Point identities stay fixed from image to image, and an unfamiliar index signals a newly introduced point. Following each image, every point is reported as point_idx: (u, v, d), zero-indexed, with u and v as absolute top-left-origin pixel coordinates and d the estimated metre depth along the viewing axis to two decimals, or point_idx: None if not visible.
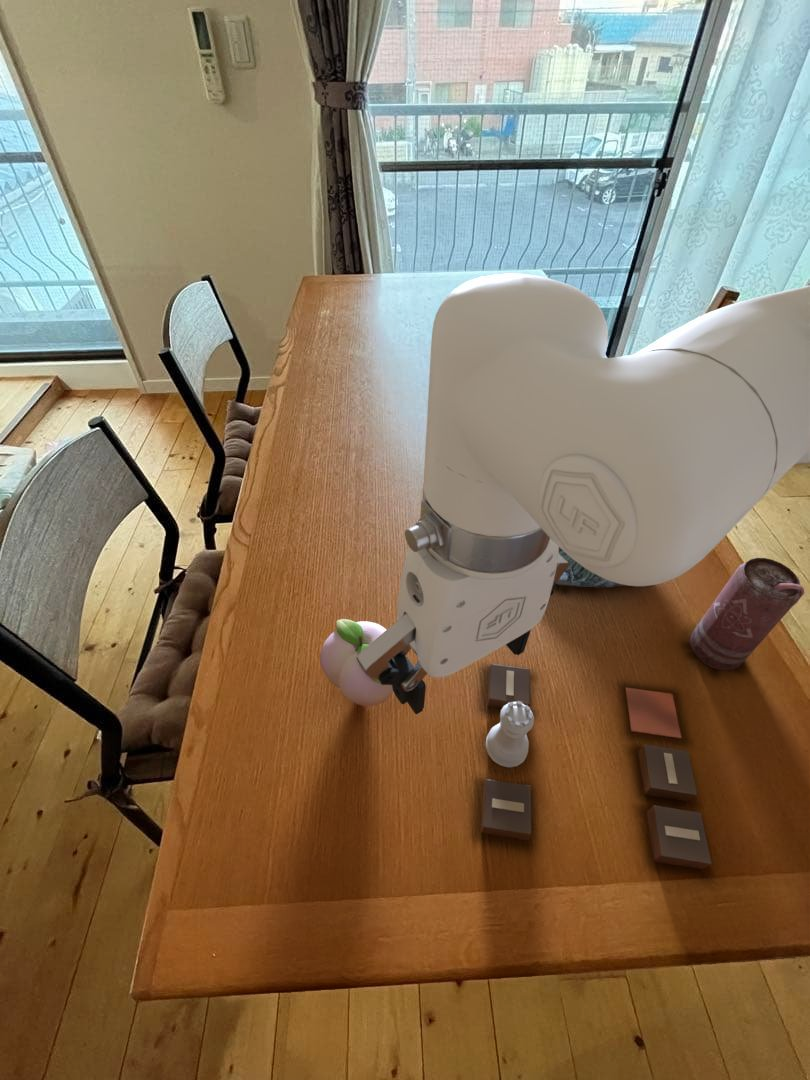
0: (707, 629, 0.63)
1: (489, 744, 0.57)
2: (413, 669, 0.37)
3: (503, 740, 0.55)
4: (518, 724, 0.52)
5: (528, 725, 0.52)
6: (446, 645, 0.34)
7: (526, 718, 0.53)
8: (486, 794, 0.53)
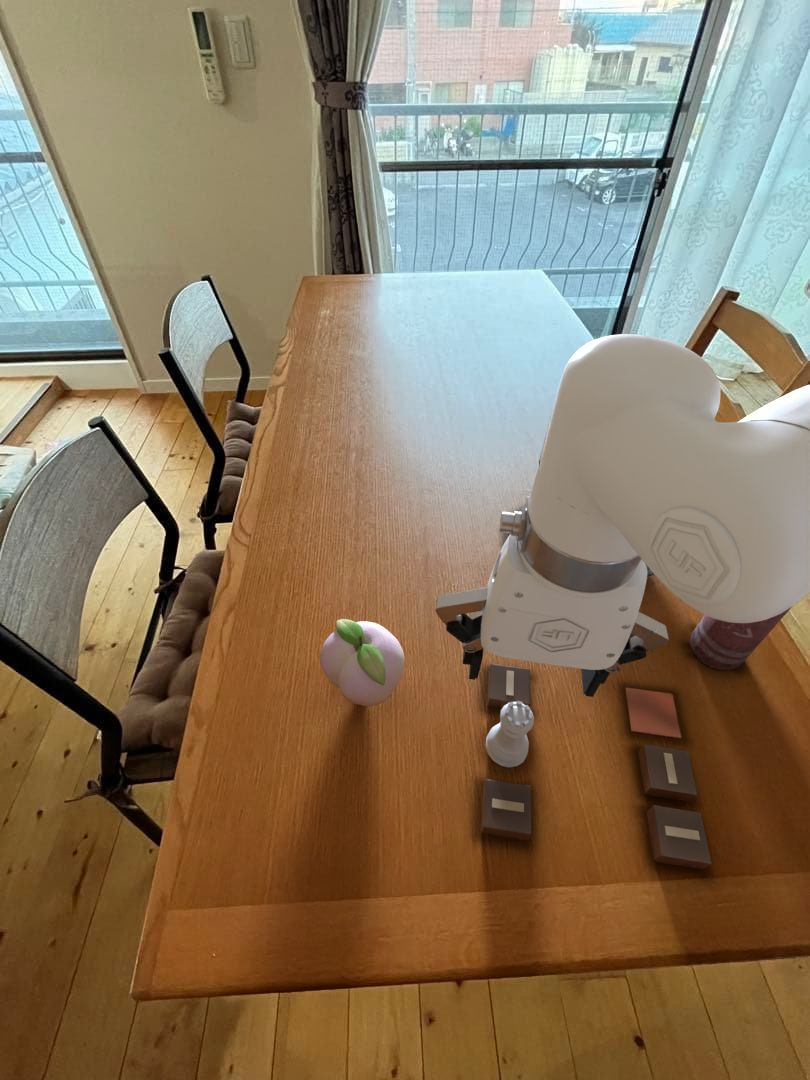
0: (707, 629, 0.63)
1: (489, 744, 0.57)
2: (476, 636, 0.43)
3: (503, 740, 0.55)
4: (518, 724, 0.52)
5: (528, 725, 0.52)
6: (499, 625, 0.39)
7: (526, 718, 0.53)
8: (486, 794, 0.53)
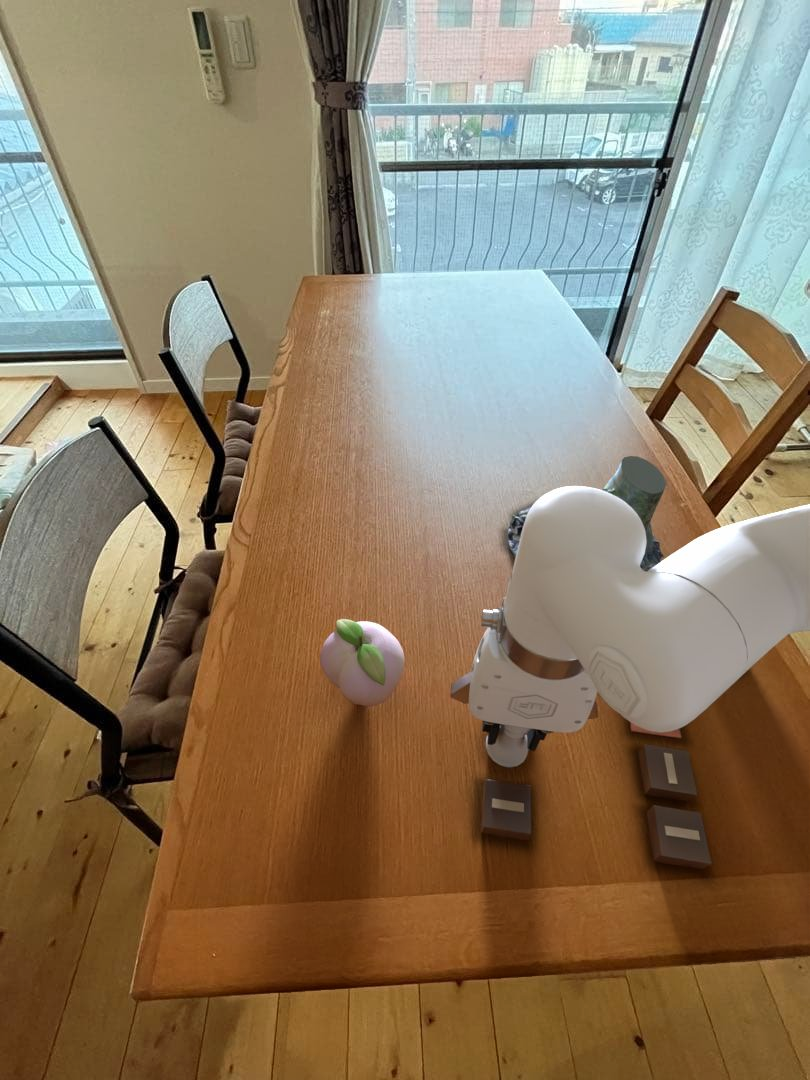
0: None
1: None
2: None
3: (503, 740, 0.55)
4: None
5: None
6: (483, 697, 0.46)
7: None
8: (486, 794, 0.53)
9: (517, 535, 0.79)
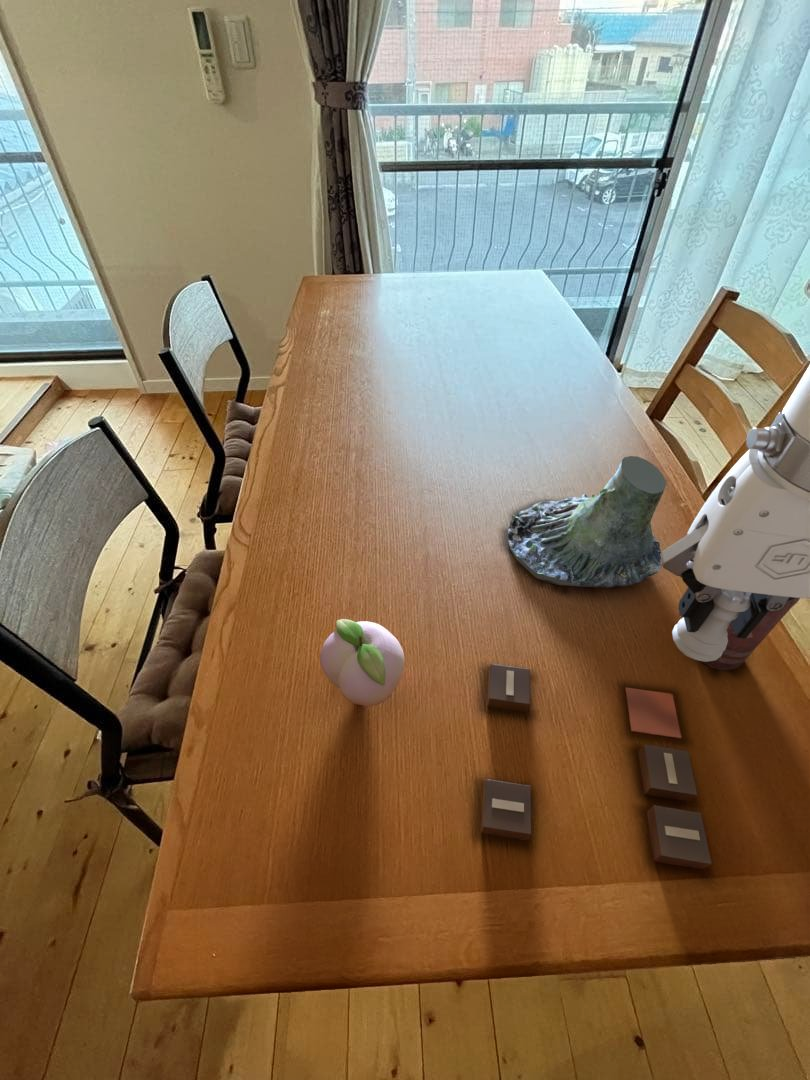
0: None
1: (682, 636, 0.49)
2: (704, 583, 0.44)
3: (705, 627, 0.47)
4: (738, 600, 0.44)
5: (747, 602, 0.45)
6: (728, 550, 0.39)
7: (743, 595, 0.45)
8: (486, 794, 0.53)
9: (517, 535, 0.79)
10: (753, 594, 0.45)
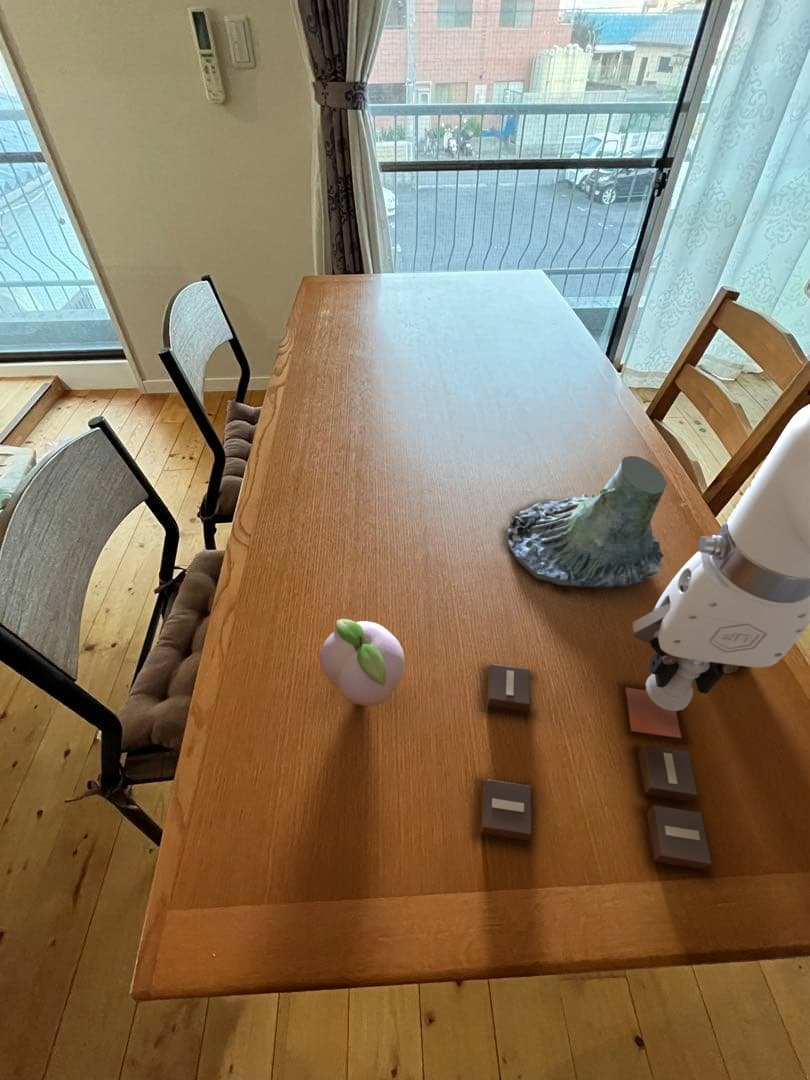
0: None
1: (653, 688, 0.57)
2: None
3: (672, 682, 0.55)
4: (698, 663, 0.52)
5: (707, 664, 0.52)
6: (685, 629, 0.46)
7: None
8: (486, 794, 0.53)
9: (517, 535, 0.79)
10: None
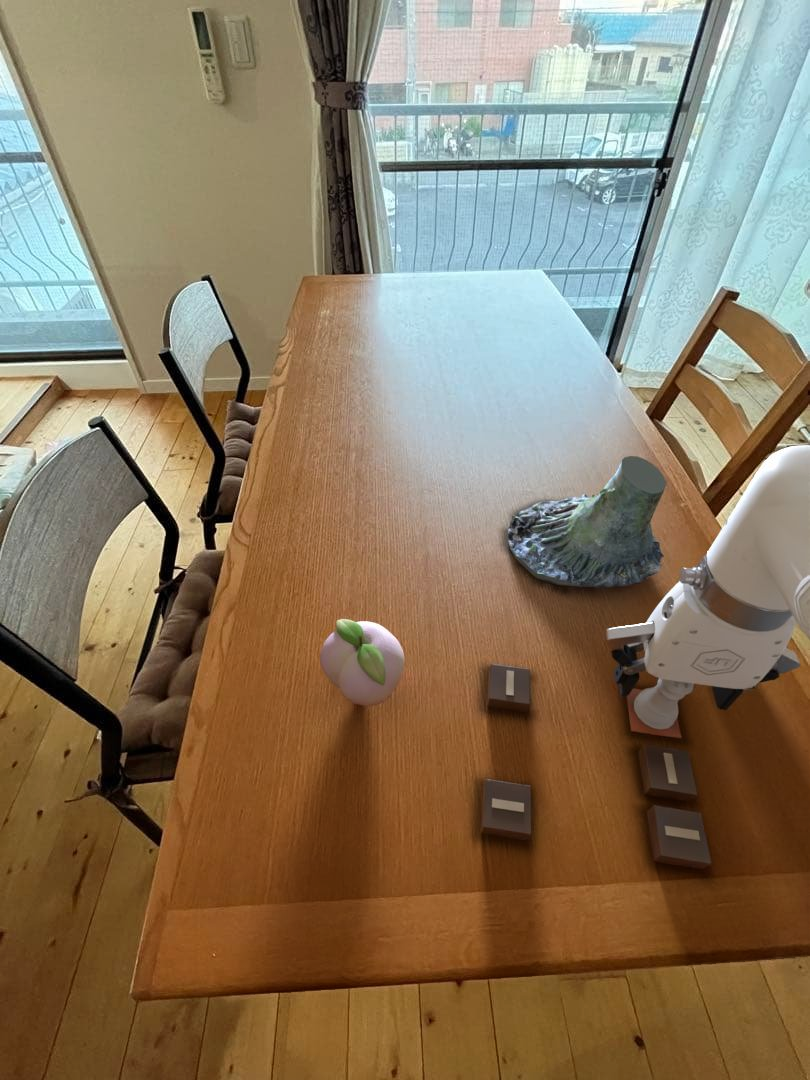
0: None
1: (640, 707, 0.60)
2: (637, 661, 0.53)
3: (658, 703, 0.58)
4: (682, 685, 0.55)
5: (690, 687, 0.55)
6: (669, 654, 0.49)
7: None
8: (486, 794, 0.53)
9: (517, 535, 0.79)
10: None
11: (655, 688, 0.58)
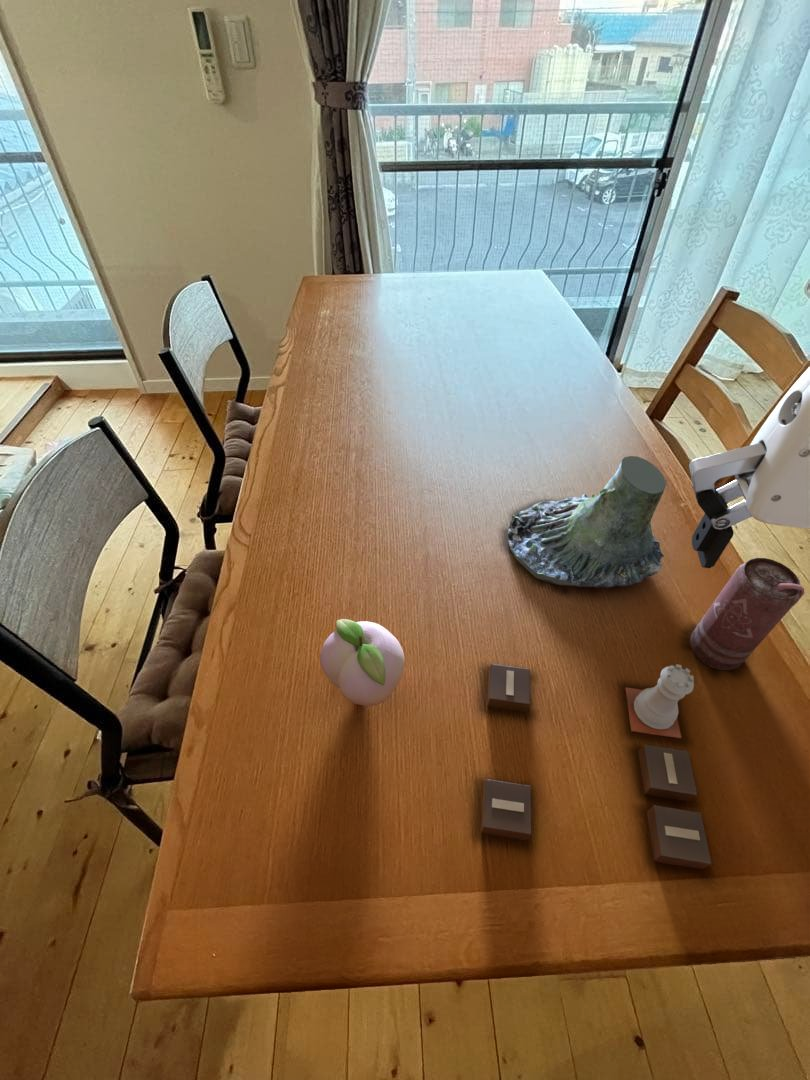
0: (707, 629, 0.63)
1: (640, 707, 0.60)
2: (733, 506, 0.38)
3: (659, 703, 0.58)
4: (682, 685, 0.55)
5: (690, 686, 0.55)
6: (791, 476, 0.34)
7: (687, 680, 0.55)
8: (486, 794, 0.53)
9: (517, 535, 0.79)
10: None
11: (655, 688, 0.58)
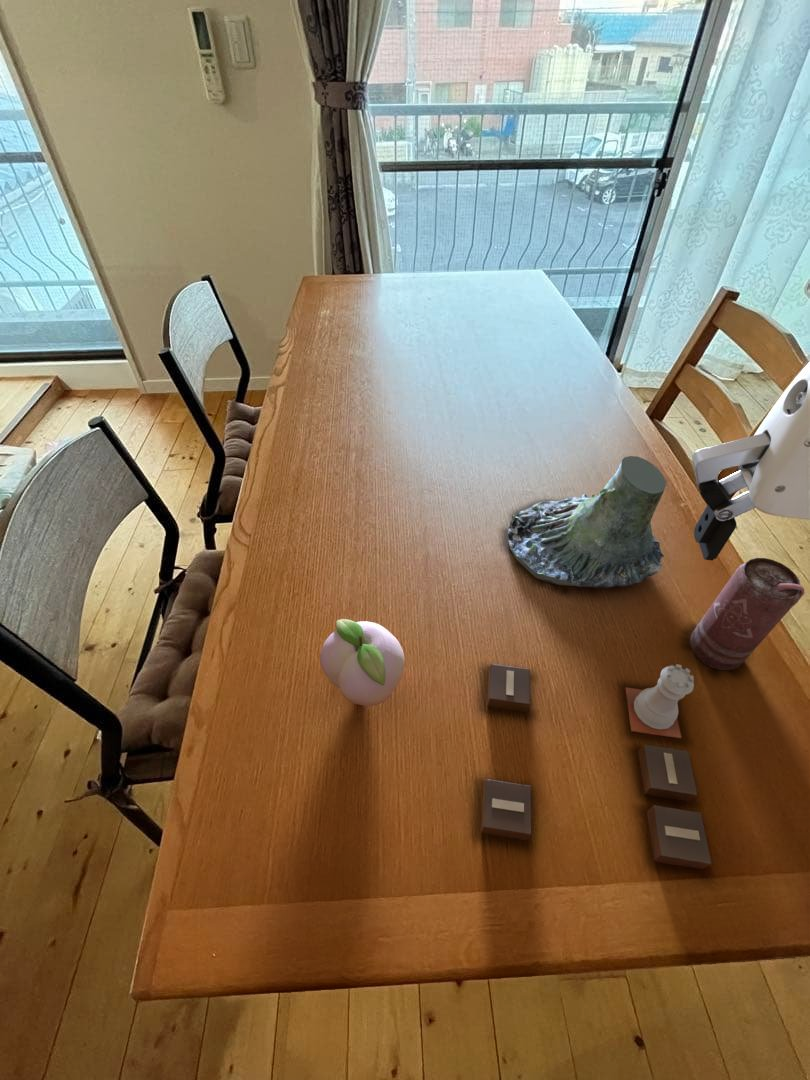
0: (707, 629, 0.63)
1: (640, 707, 0.60)
2: (736, 498, 0.38)
3: (659, 703, 0.58)
4: (682, 685, 0.55)
5: (690, 686, 0.55)
6: (795, 467, 0.34)
7: (687, 680, 0.55)
8: (486, 794, 0.53)
9: (517, 535, 0.79)
10: None
11: (655, 688, 0.58)
